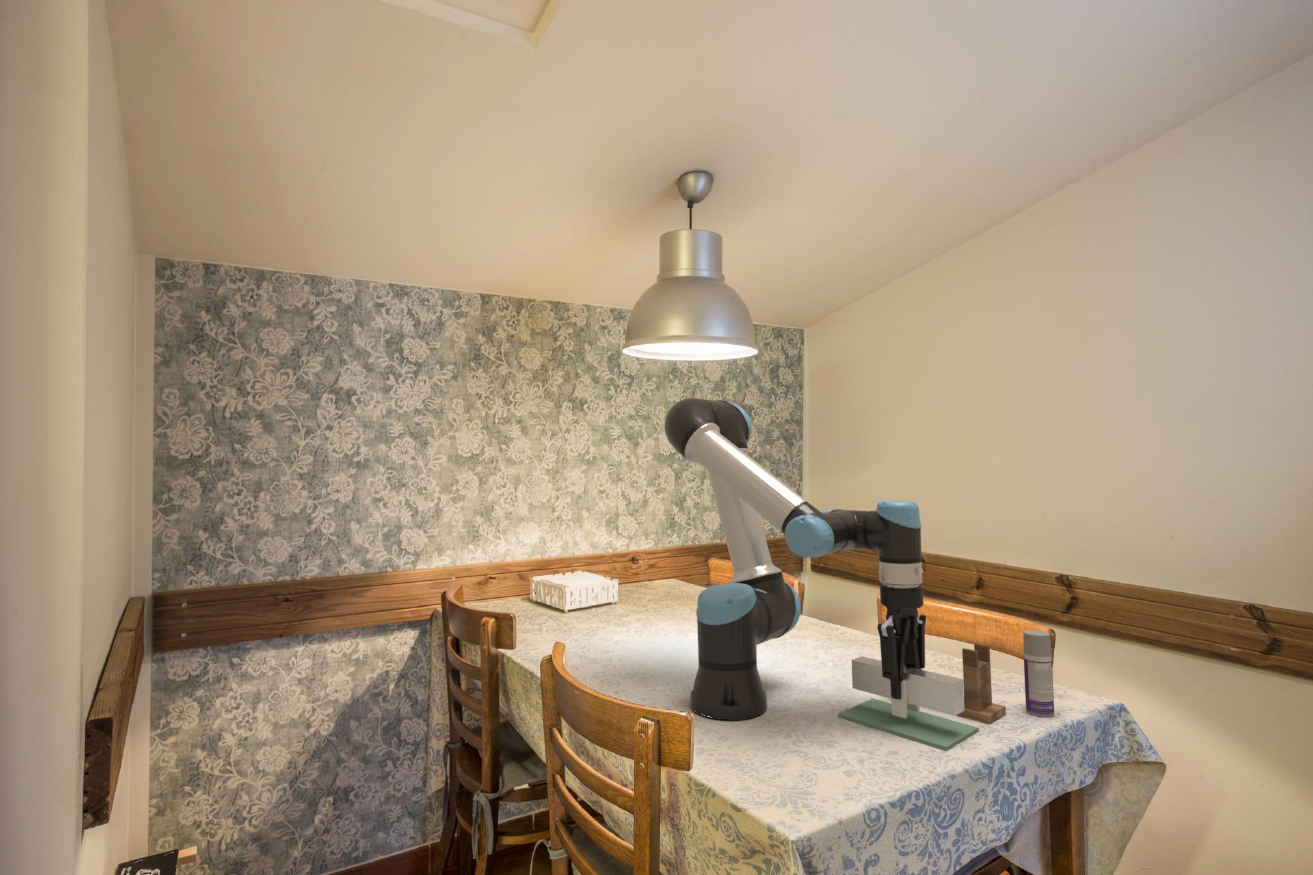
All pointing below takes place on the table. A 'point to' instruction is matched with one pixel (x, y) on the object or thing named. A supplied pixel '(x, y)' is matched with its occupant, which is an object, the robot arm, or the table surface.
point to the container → (1038, 673)
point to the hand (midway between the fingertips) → (905, 712)
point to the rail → (911, 686)
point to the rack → (978, 686)
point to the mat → (910, 724)
